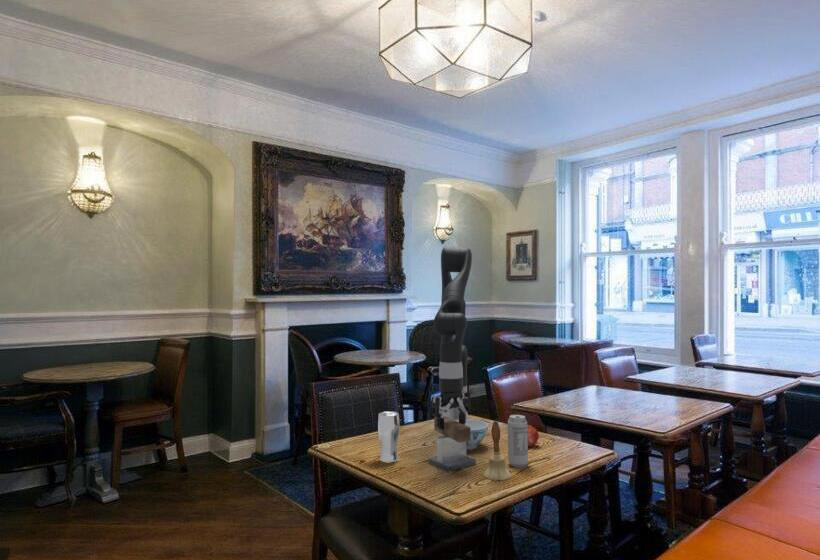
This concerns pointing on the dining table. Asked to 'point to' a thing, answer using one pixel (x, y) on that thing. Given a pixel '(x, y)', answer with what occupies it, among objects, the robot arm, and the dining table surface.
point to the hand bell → (496, 459)
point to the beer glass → (388, 435)
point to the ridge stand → (451, 455)
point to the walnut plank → (454, 430)
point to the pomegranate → (532, 435)
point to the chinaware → (475, 432)
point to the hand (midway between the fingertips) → (451, 427)
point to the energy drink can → (517, 441)
